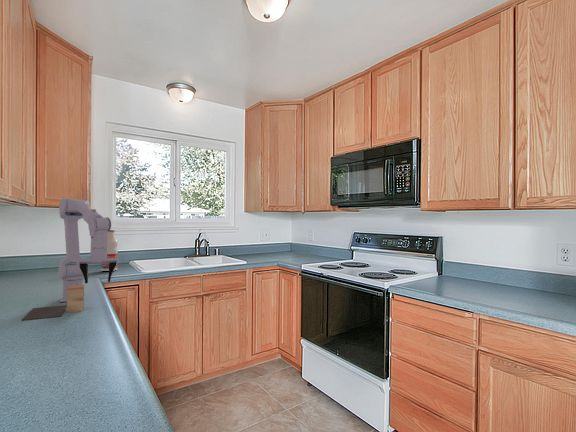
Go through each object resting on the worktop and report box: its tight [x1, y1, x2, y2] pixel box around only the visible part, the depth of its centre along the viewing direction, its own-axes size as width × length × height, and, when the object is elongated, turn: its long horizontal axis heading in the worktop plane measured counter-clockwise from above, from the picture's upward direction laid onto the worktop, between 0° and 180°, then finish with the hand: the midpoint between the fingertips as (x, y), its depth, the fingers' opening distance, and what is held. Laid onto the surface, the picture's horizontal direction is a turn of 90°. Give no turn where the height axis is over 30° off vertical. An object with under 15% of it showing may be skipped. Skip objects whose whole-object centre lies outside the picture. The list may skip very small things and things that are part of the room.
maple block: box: [66, 284, 85, 313], centre depth 121 cm, size 5×5×9 cm
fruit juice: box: [100, 229, 119, 272], centre depth 213 cm, size 9×9×28 cm
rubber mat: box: [21, 304, 67, 322], centre depth 117 cm, size 16×11×1 cm
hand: (97, 282), depth 124 cm, fingers open, 7 cm apart
